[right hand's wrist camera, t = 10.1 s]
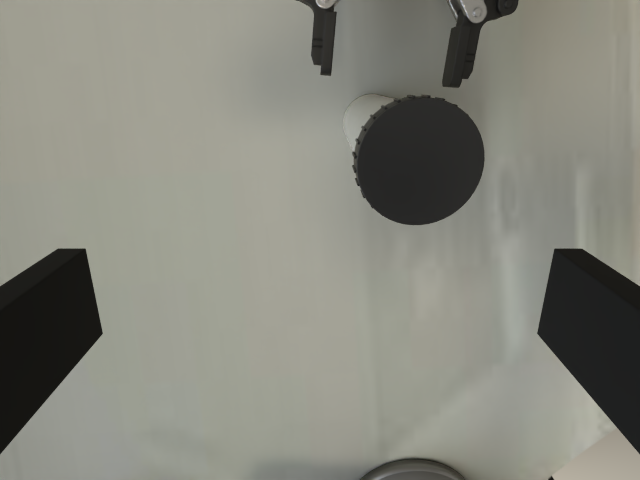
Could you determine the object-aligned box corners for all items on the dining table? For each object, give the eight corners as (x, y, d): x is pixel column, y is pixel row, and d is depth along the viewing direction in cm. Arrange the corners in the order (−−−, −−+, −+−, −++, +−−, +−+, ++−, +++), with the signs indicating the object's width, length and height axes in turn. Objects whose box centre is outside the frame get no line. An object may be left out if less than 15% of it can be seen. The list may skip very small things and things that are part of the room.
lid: (446, 71, 19) (458, 70, 17) (489, 183, 21) (504, 192, 19) (331, 131, 20) (332, 135, 18) (382, 233, 22) (387, 247, 20)
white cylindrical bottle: (384, 83, 36) (448, 86, 18) (406, 135, 37) (487, 185, 19) (333, 110, 36) (346, 139, 19) (357, 160, 38) (390, 231, 20)
